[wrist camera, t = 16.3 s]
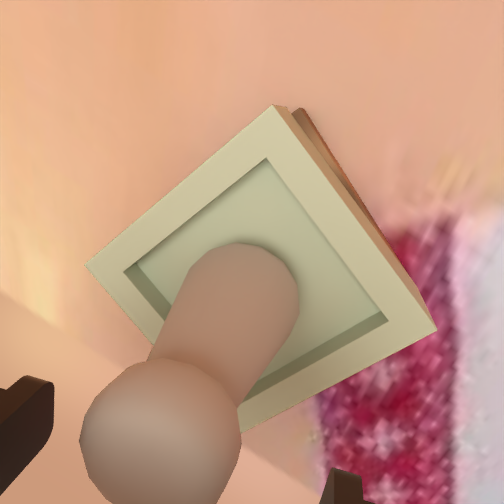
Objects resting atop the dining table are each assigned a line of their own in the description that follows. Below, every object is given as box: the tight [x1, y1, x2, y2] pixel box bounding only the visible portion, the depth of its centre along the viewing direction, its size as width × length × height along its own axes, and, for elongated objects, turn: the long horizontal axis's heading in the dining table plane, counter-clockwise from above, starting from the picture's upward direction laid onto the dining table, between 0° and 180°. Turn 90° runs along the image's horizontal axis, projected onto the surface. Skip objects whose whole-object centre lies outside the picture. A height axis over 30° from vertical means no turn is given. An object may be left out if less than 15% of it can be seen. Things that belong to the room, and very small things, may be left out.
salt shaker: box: [79, 242, 300, 504], centre depth 16 cm, size 6×6×13 cm
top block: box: [84, 105, 437, 434], centre depth 23 cm, size 13×13×6 cm
